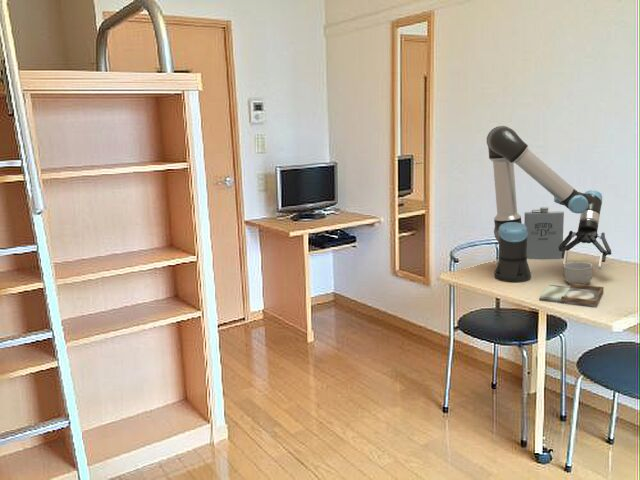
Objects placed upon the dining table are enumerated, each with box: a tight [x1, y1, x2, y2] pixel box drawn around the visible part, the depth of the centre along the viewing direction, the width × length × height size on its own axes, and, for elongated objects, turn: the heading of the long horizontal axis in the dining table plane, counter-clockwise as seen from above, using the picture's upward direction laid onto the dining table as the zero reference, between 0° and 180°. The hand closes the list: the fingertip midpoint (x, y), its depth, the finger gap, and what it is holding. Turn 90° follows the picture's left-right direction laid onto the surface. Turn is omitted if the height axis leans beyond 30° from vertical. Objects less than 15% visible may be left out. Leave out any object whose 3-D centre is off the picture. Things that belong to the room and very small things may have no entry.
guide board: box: [538, 283, 604, 308], centre depth 221 cm, size 20×18×2 cm
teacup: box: [563, 260, 594, 285], centre depth 237 cm, size 14×11×8 cm
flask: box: [523, 206, 565, 260], centre depth 272 cm, size 17×5×25 cm, turn 74°
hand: (581, 266), depth 236 cm, fingers open, 13 cm apart
